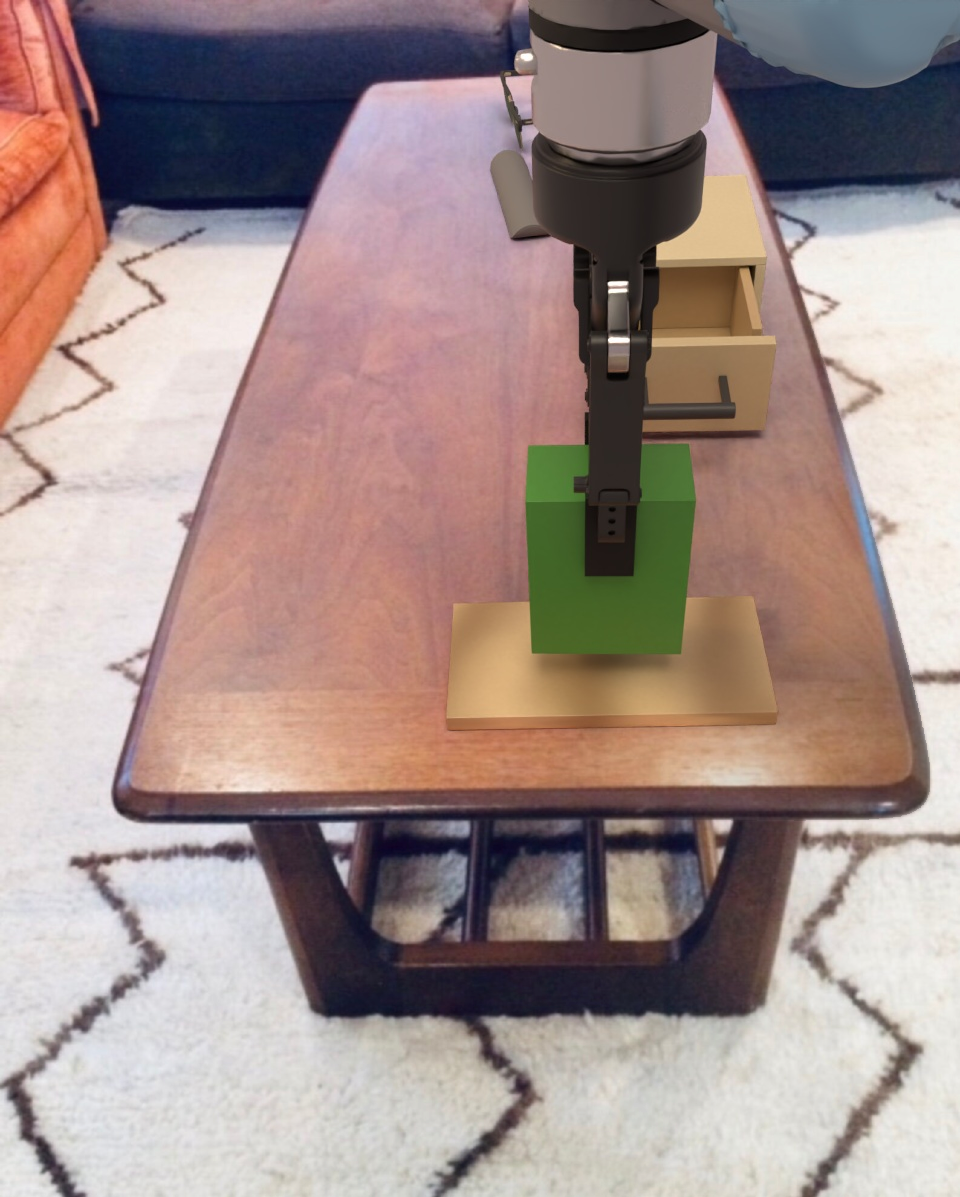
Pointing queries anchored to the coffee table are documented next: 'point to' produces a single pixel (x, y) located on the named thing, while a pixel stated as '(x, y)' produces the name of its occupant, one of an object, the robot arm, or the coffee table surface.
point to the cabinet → (721, 233)
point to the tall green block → (608, 603)
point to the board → (608, 674)
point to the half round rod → (515, 194)
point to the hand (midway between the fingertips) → (608, 537)
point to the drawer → (707, 353)
